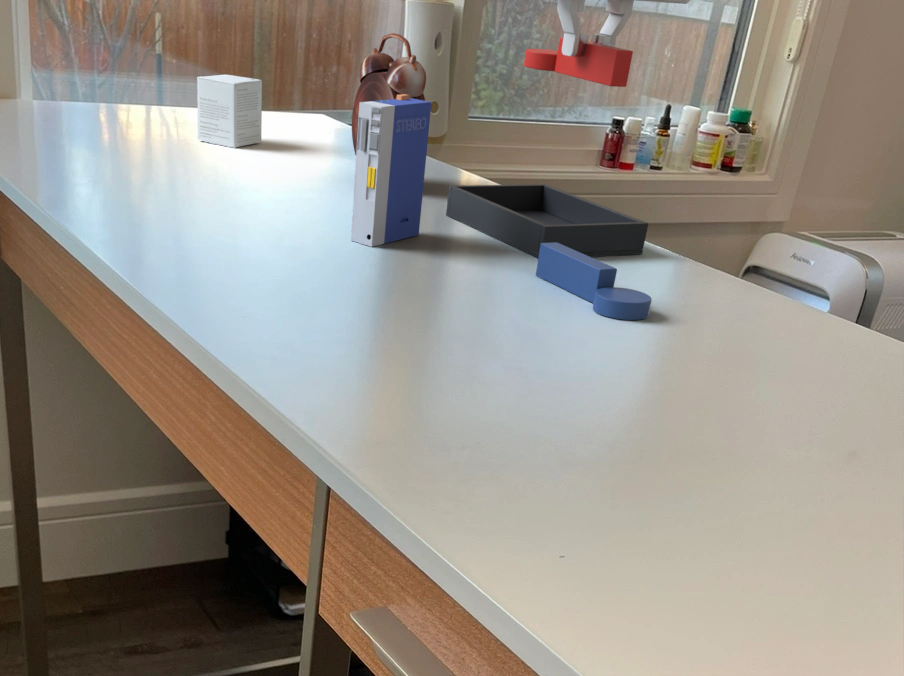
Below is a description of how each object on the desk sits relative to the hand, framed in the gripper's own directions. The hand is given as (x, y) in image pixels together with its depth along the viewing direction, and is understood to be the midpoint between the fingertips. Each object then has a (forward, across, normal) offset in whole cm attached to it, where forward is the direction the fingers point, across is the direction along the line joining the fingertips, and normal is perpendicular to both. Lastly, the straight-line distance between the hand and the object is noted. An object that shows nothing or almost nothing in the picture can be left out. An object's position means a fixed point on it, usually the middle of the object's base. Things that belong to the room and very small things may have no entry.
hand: (586, 56), depth 103 cm
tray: (+16, 0, +3) cm, 16 cm away
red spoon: (+2, 0, +2) cm, 2 cm away
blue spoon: (+16, -9, -18) cm, 26 cm away
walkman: (+16, -17, +4) cm, 24 cm away
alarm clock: (+16, -5, +28) cm, 33 cm away
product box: (+17, -14, +54) cm, 59 cm away
